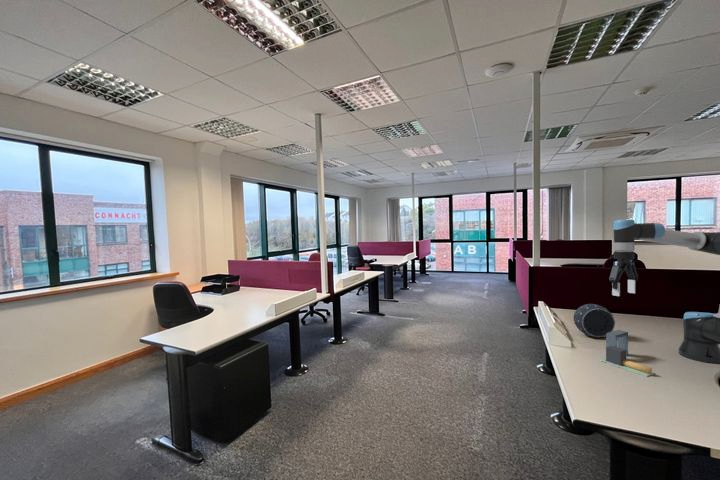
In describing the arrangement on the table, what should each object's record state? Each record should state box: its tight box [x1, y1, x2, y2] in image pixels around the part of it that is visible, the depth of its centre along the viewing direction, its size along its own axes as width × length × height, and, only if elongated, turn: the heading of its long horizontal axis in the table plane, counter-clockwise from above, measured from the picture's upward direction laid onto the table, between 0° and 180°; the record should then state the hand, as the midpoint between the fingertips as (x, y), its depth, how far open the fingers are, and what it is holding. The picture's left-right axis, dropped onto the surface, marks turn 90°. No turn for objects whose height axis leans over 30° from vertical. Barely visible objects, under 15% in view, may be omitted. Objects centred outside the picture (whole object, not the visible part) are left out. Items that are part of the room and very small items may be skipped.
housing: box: [605, 329, 629, 357], centre depth 152 cm, size 12×4×13 cm, turn 113°
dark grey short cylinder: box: [573, 303, 616, 339], centre depth 181 cm, size 11×20×20 cm, turn 78°
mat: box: [599, 357, 656, 378], centre depth 140 cm, size 7×18×1 cm, turn 23°
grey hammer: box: [605, 346, 653, 374], centre depth 139 cm, size 5×16×7 cm, turn 22°
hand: (623, 294), depth 142 cm, fingers open, 13 cm apart
